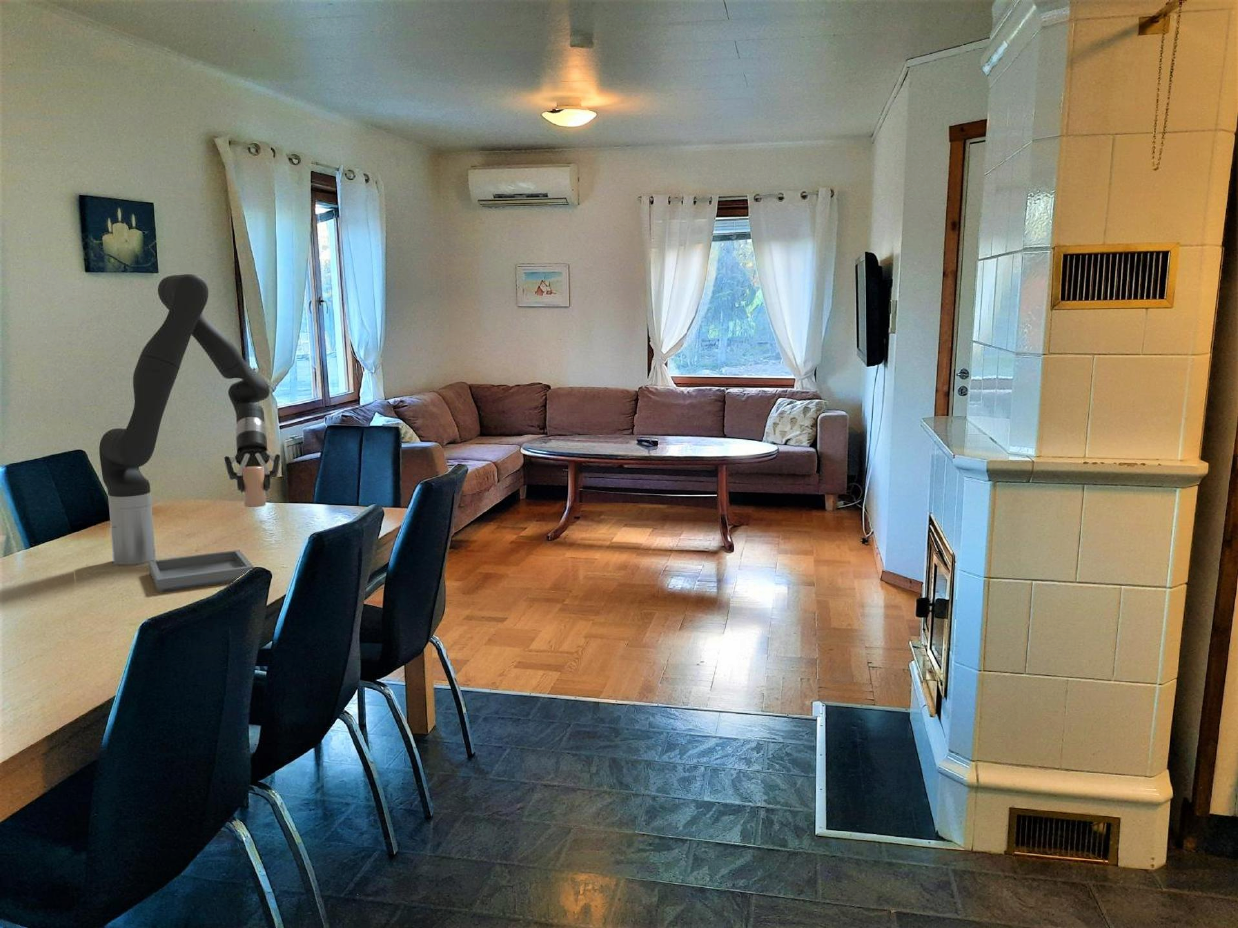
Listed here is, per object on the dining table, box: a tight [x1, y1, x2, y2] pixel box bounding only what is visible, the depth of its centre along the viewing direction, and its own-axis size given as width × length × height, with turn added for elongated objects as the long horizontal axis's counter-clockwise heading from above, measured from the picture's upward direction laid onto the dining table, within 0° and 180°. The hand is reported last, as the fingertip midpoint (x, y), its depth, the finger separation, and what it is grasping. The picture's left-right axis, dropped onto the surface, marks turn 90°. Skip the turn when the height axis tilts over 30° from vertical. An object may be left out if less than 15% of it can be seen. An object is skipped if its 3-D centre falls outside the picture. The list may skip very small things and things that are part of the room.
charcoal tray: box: [148, 549, 255, 594], centre depth 206 cm, size 20×18×3 cm
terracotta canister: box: [242, 466, 267, 508], centre depth 227 cm, size 5×5×10 cm
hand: (254, 489), depth 225 cm, fingers closed on terracotta canister, 5 cm apart
